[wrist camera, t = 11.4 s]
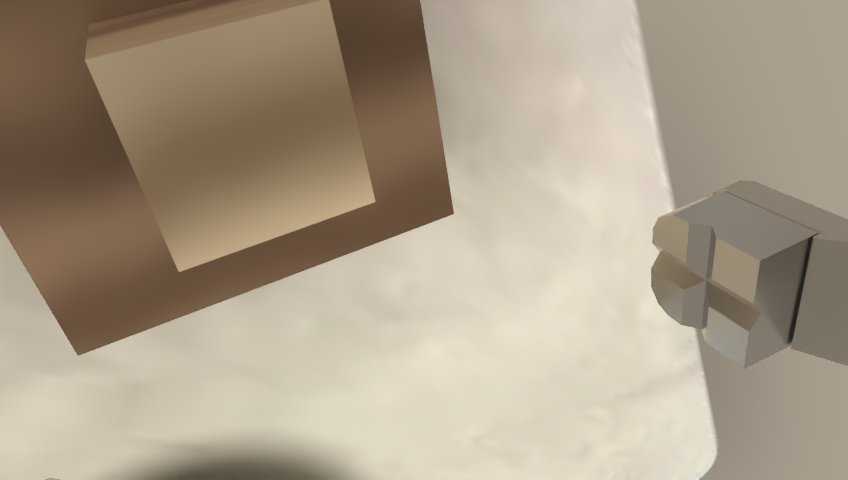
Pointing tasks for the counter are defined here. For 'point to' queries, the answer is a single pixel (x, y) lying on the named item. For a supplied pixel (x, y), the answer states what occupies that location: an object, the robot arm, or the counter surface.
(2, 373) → the counter surface
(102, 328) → the plinth
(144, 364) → the counter surface
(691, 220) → the robot arm
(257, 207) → the beech cube
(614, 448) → the counter surface
